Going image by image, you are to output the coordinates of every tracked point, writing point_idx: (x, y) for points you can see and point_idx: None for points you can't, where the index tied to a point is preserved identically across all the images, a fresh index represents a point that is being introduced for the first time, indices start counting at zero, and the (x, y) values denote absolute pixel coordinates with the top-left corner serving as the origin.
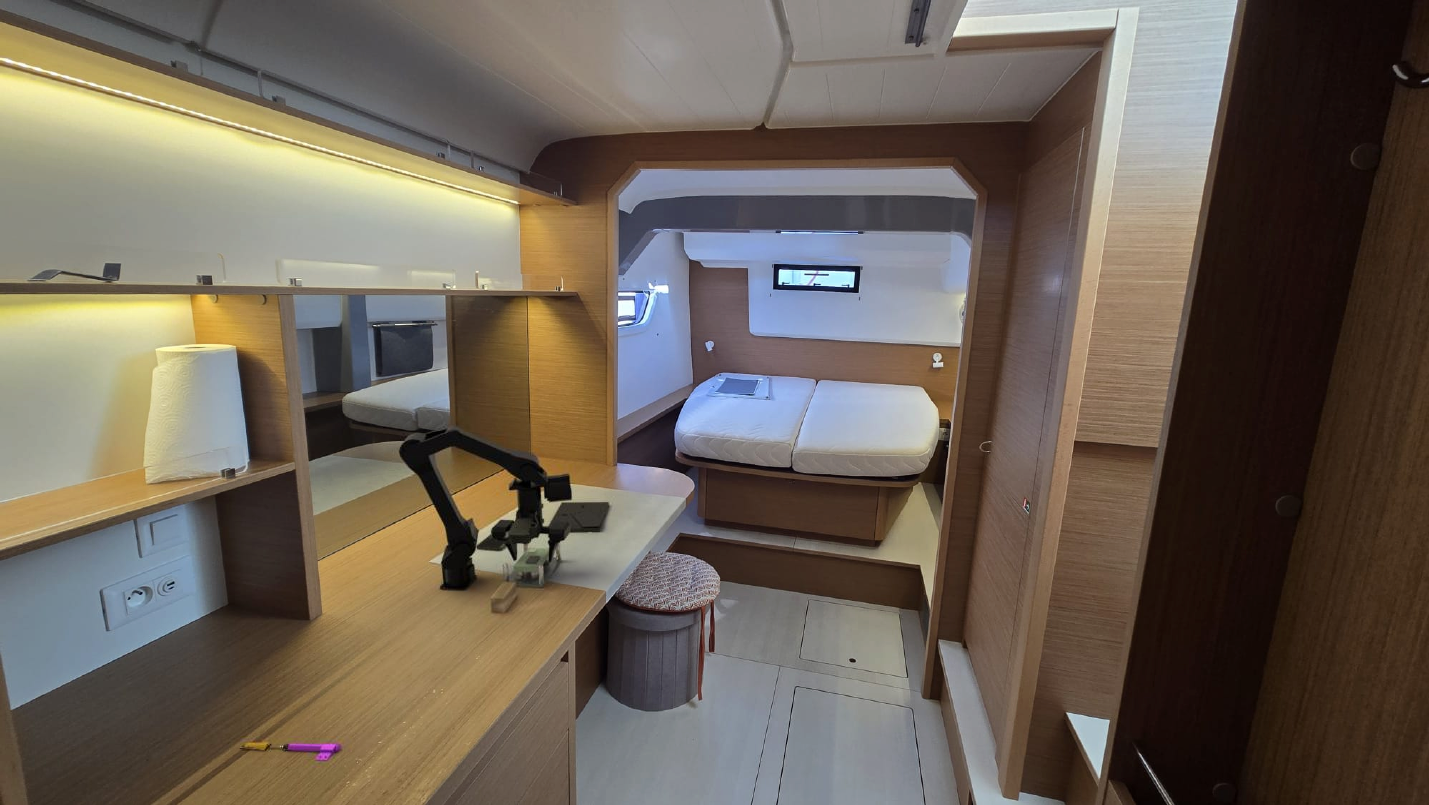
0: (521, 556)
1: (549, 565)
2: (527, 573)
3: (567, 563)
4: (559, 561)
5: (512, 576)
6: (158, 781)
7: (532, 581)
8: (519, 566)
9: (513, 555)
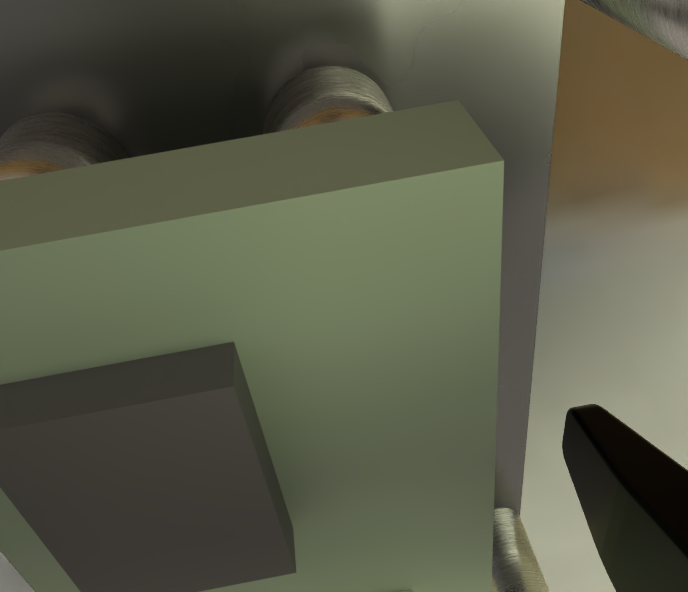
0: (490, 512)
1: None
2: None
3: (6, 560)
4: None
5: (487, 125)
6: None
7: (7, 51)
8: (319, 190)
9: (651, 492)
